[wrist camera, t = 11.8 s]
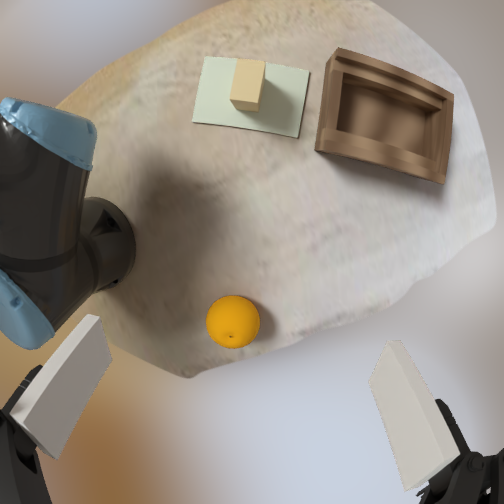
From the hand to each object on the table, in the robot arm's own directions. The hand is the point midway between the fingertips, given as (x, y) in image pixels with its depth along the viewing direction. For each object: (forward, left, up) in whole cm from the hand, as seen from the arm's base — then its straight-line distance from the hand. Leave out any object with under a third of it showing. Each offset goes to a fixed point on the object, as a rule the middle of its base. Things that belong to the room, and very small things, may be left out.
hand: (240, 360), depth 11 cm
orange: (-1, -16, -28) cm, 32 cm away
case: (+15, +16, -28) cm, 35 cm away
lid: (-3, +16, -28) cm, 32 cm away
